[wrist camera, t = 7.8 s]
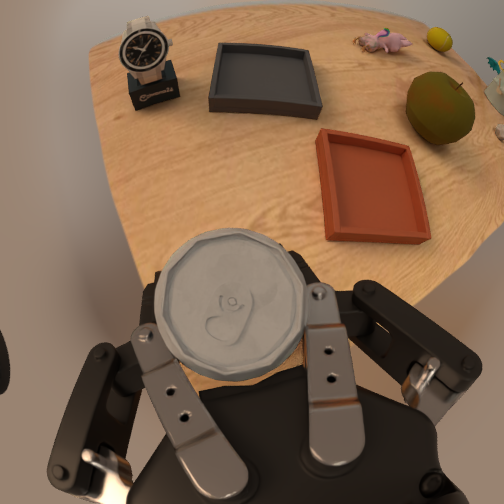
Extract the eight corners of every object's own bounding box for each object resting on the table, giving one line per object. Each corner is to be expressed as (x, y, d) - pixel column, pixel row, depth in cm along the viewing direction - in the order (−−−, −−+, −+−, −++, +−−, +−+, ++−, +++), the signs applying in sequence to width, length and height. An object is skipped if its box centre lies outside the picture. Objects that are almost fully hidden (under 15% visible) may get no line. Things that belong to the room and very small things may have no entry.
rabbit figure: (366, 63, 34) (417, 56, 35) (375, 39, 28) (426, 37, 29) (344, 44, 35) (396, 38, 36) (350, 20, 30) (404, 18, 30)
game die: (496, 139, 33) (504, 132, 30) (491, 125, 34) (498, 119, 31) (504, 145, 33) (512, 138, 31) (499, 131, 34) (506, 125, 31)
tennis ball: (418, 38, 40) (429, 21, 33) (429, 39, 41) (439, 23, 35) (439, 56, 39) (451, 39, 32) (448, 56, 40) (459, 40, 34)
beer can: (274, 295, 19) (341, 257, 8) (247, 357, 18) (279, 412, 6) (212, 268, 19) (191, 192, 8) (184, 329, 18) (118, 341, 7)
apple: (454, 143, 30) (494, 104, 19) (434, 167, 28) (484, 122, 17) (410, 96, 32) (442, 51, 21) (382, 112, 29) (419, 56, 19)
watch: (137, 121, 26) (110, 47, 15) (132, 83, 28) (112, 18, 17) (184, 106, 27) (172, 28, 16) (172, 70, 28) (162, 3, 18)
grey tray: (209, 112, 27) (208, 98, 25) (218, 55, 30) (218, 42, 28) (317, 119, 28) (322, 106, 26) (305, 61, 31) (308, 50, 28)
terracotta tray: (325, 240, 24) (334, 232, 22) (315, 140, 27) (320, 127, 25) (418, 244, 25) (431, 238, 23) (399, 155, 28) (409, 145, 26)
